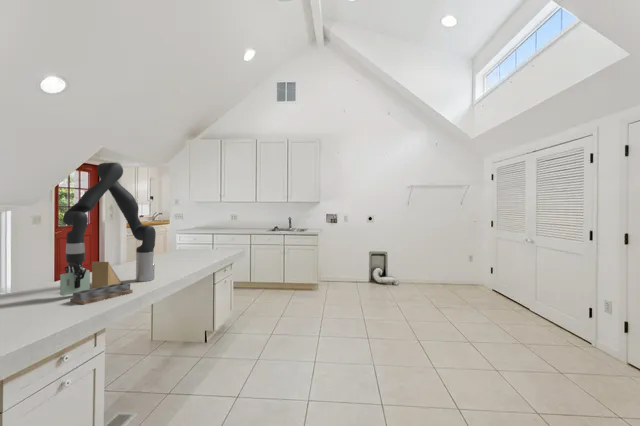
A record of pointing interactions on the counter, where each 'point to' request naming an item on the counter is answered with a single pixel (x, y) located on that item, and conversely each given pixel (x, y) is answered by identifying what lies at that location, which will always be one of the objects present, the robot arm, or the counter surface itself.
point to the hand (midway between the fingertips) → (75, 287)
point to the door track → (100, 293)
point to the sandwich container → (103, 275)
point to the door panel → (73, 283)
